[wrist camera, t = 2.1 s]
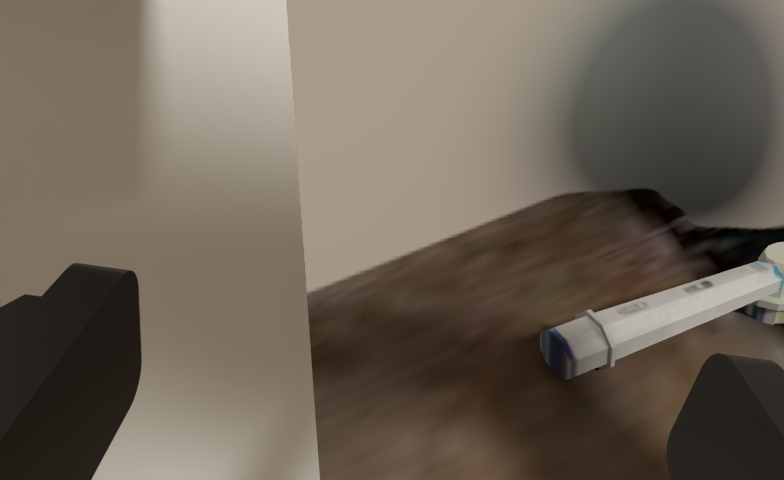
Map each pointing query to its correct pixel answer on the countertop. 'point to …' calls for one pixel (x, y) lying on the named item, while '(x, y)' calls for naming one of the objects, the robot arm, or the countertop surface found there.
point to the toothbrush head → (665, 315)
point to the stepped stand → (169, 216)
